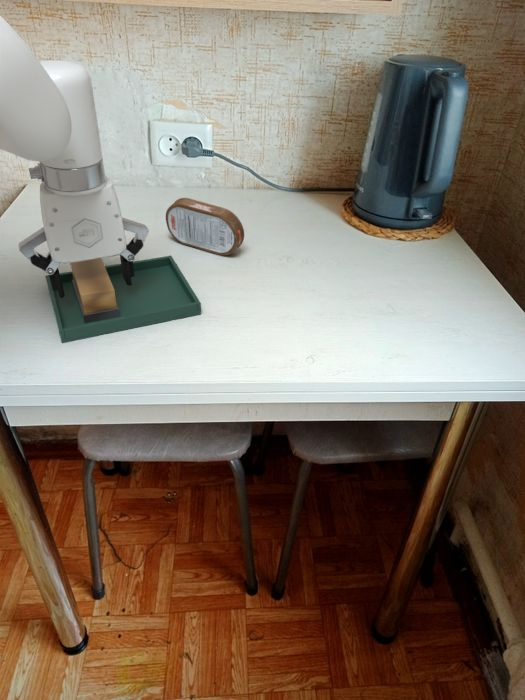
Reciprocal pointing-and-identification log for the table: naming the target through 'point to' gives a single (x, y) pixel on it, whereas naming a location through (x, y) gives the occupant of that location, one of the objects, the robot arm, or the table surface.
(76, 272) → the eraser
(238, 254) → the table surface
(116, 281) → the tray
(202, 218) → the tin
